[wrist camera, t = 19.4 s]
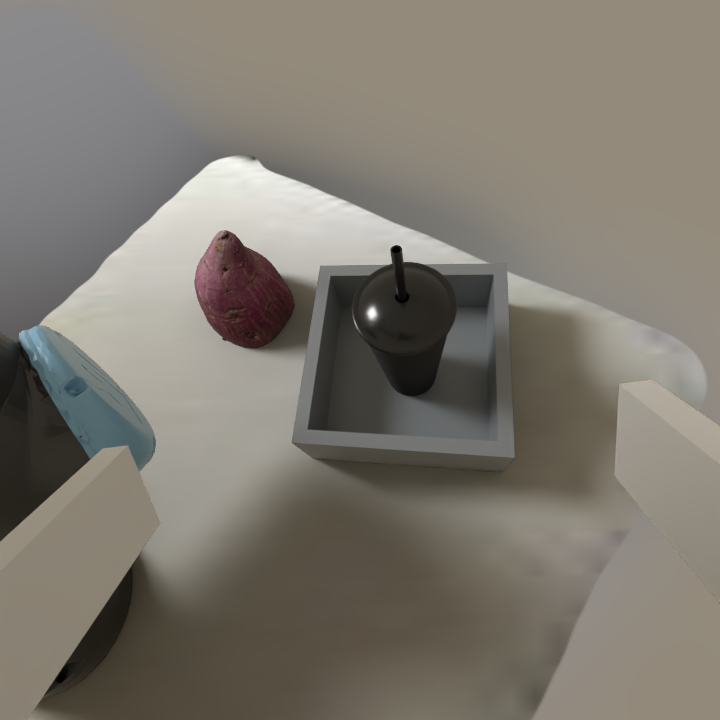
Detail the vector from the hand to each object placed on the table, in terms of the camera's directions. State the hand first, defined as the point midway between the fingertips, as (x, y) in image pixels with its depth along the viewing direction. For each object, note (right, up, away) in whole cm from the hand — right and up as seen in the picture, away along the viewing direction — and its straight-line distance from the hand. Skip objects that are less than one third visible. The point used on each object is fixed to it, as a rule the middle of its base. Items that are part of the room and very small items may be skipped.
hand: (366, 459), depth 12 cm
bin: (+5, +1, +33) cm, 33 cm away
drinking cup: (+5, +1, +32) cm, 32 cm away
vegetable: (-13, +9, +39) cm, 42 cm away
